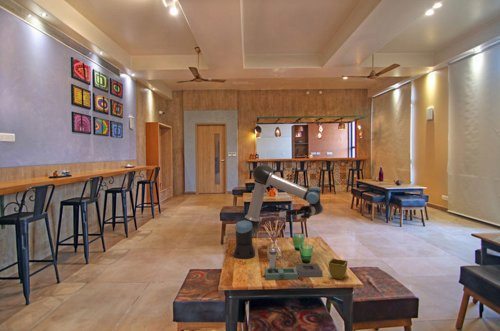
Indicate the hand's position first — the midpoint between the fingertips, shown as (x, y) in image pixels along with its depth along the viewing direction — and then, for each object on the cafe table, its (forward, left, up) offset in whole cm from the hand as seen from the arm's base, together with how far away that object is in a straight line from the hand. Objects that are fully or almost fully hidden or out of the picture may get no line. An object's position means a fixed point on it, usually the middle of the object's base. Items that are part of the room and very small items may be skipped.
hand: (288, 216), depth 186 cm
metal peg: (+14, -11, -32) cm, 37 cm away
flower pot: (+18, +25, -32) cm, 45 cm away
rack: (+14, -7, -32) cm, 35 cm away
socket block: (+10, +10, -32) cm, 35 cm away
